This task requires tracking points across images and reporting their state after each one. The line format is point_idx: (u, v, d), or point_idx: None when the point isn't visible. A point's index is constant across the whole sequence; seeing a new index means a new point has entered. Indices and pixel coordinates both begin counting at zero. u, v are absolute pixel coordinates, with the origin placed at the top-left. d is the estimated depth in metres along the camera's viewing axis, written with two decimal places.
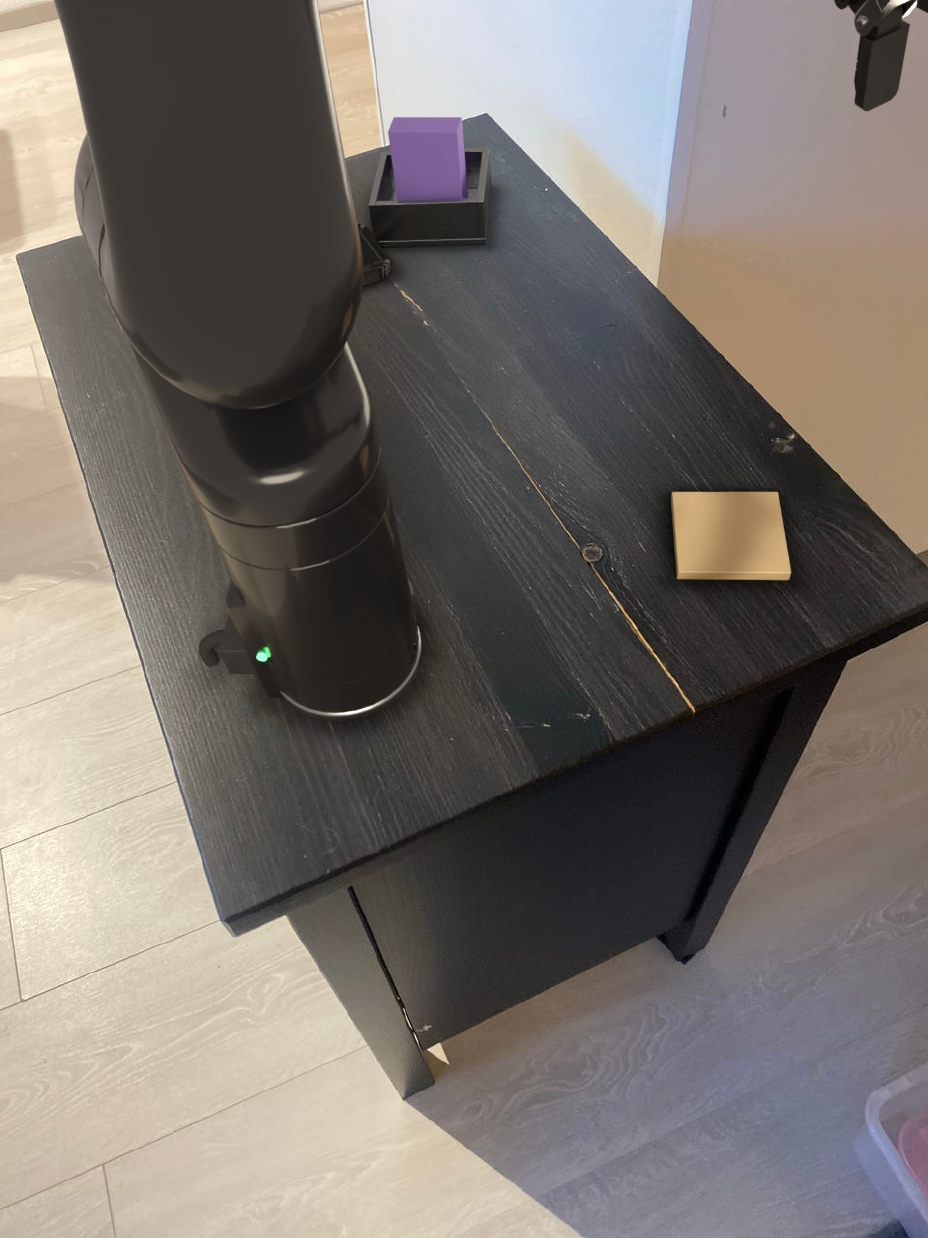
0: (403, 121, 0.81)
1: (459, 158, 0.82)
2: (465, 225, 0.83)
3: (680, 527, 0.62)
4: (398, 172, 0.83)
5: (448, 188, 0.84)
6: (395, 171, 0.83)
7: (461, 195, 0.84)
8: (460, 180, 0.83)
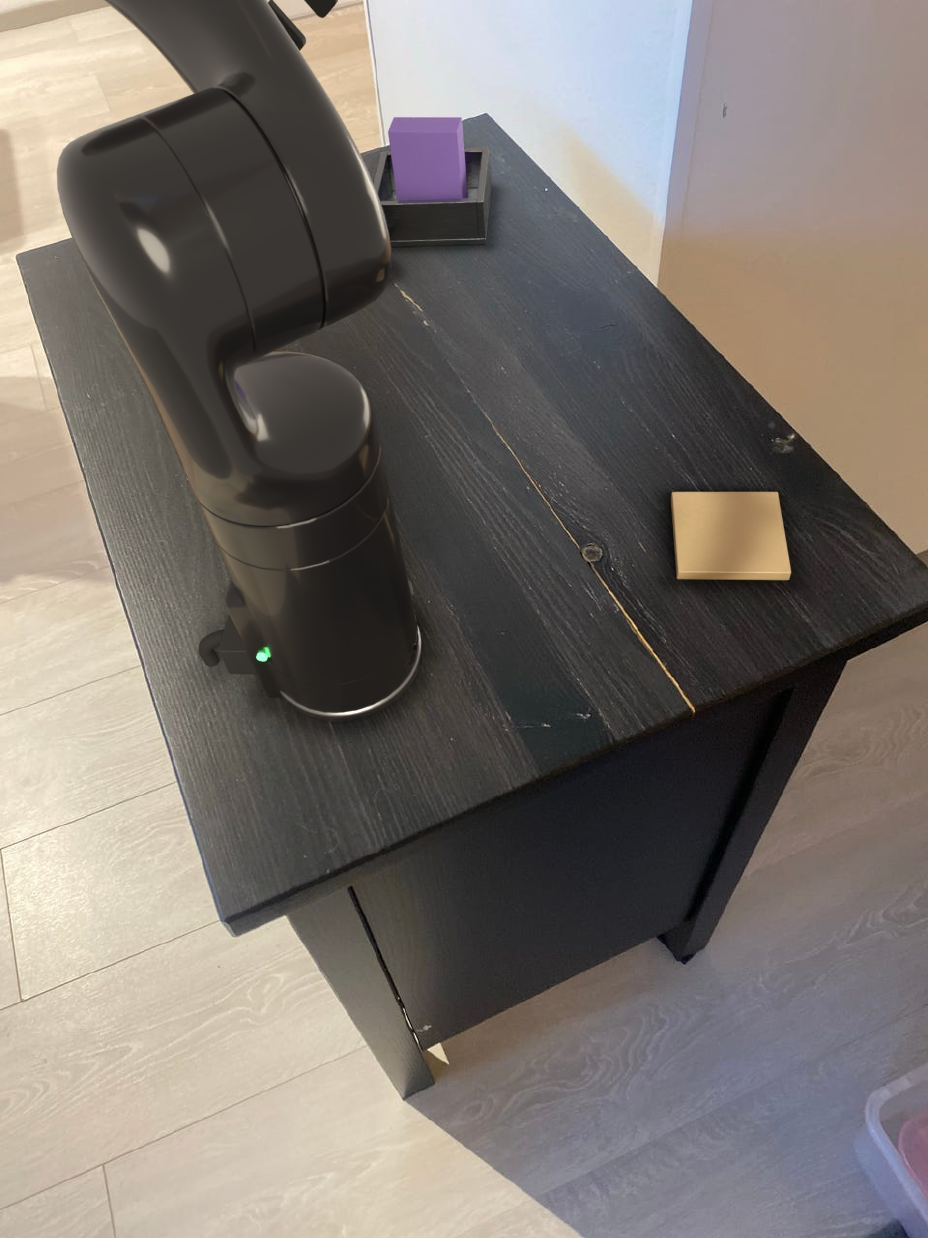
0: (403, 121, 0.81)
1: (459, 158, 0.82)
2: (465, 225, 0.83)
3: (680, 527, 0.62)
4: (398, 172, 0.83)
5: (448, 188, 0.84)
6: (395, 171, 0.83)
7: (461, 195, 0.84)
8: (460, 180, 0.83)
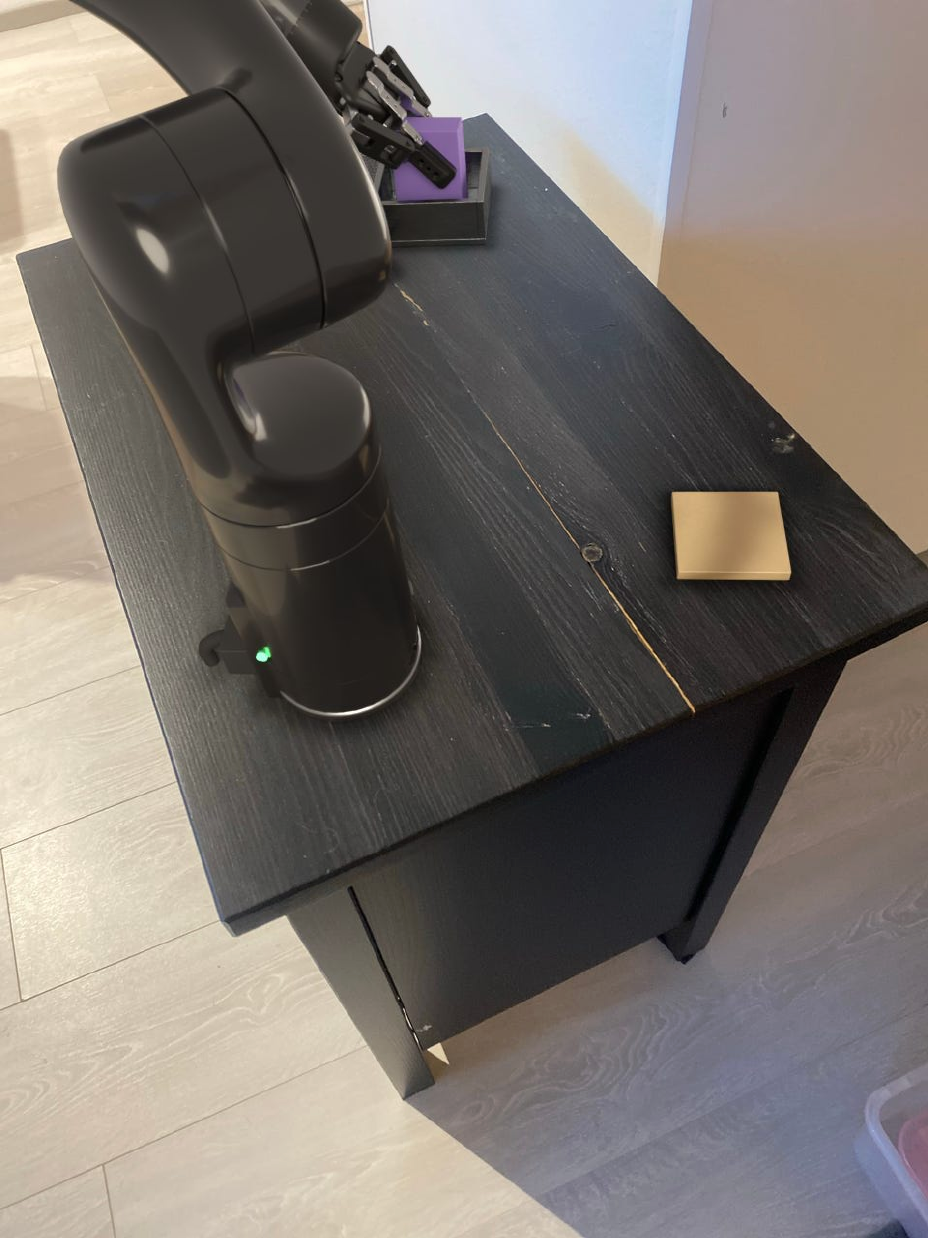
0: None
1: (459, 158, 0.82)
2: (465, 225, 0.83)
3: (680, 527, 0.62)
4: (398, 172, 0.83)
5: (448, 188, 0.84)
6: (395, 171, 0.83)
7: (461, 195, 0.84)
8: (460, 180, 0.83)
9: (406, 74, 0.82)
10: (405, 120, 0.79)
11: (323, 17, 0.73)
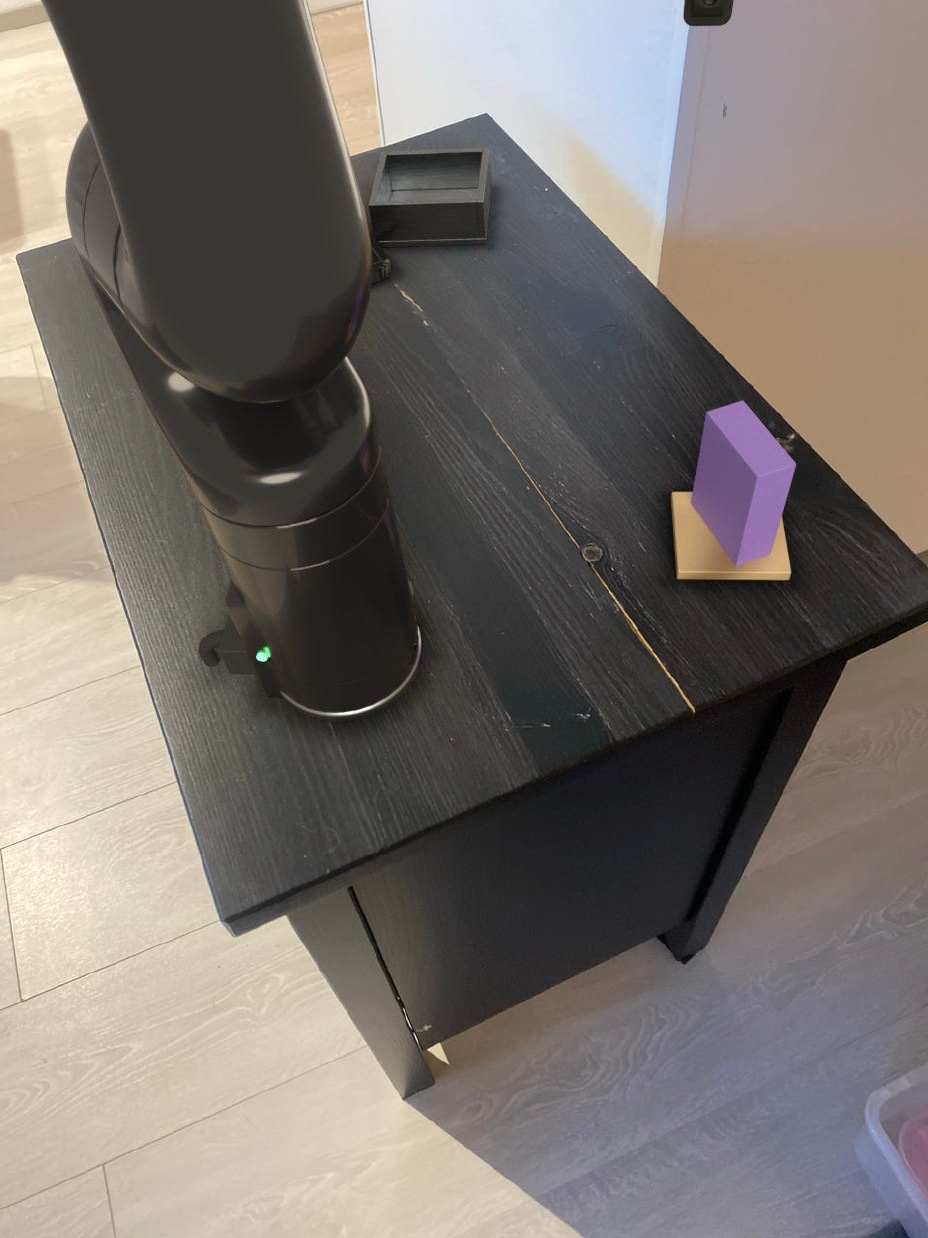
0: (739, 414, 0.57)
1: (753, 504, 0.55)
2: (465, 225, 0.83)
3: (680, 527, 0.62)
4: (701, 460, 0.60)
5: (733, 522, 0.58)
6: (699, 456, 0.60)
7: (741, 541, 0.58)
8: (745, 526, 0.57)
9: None
10: None
11: None
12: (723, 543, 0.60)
